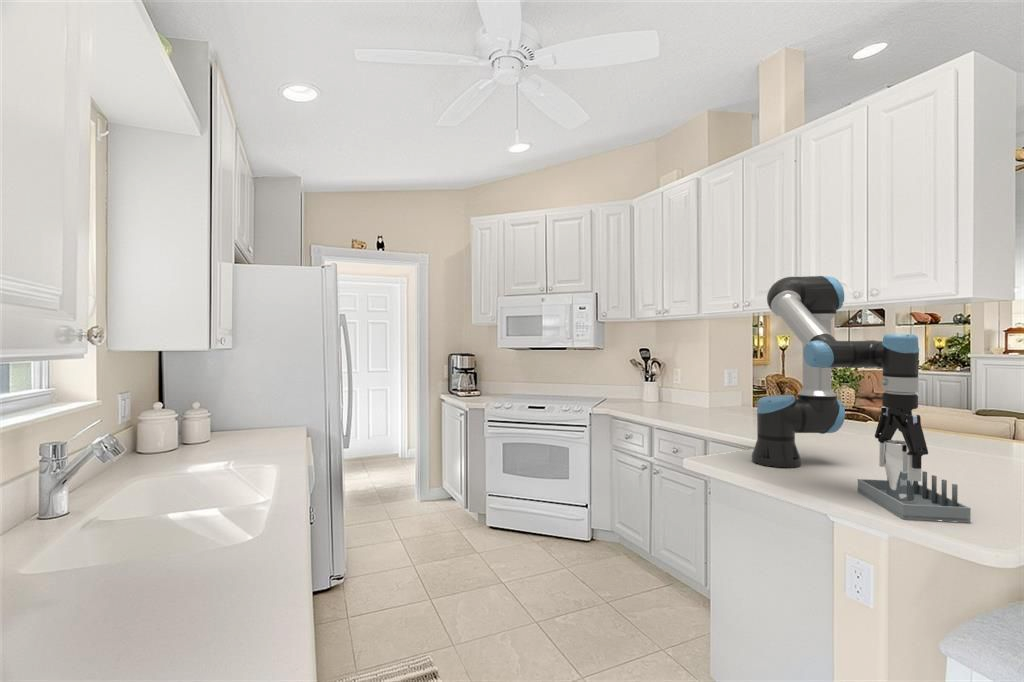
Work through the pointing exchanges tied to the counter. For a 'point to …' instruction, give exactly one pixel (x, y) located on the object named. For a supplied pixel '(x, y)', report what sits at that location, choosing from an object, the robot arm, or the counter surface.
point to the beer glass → (897, 471)
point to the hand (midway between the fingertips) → (899, 473)
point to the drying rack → (918, 501)
